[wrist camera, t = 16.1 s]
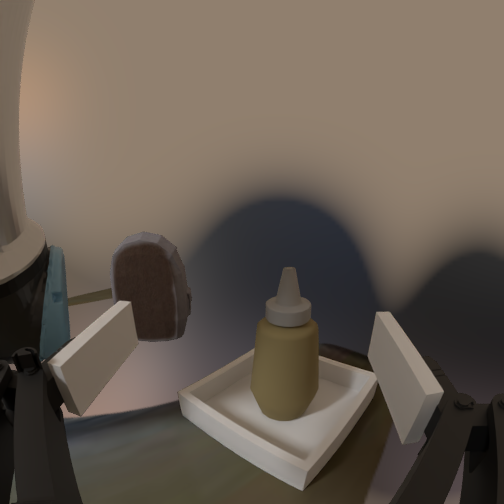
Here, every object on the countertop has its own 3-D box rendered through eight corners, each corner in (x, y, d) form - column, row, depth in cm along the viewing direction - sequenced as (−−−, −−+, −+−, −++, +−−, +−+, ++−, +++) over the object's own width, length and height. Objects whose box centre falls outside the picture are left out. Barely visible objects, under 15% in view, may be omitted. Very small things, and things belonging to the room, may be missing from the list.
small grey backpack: (115, 343, 48) (97, 237, 43) (127, 324, 56) (114, 229, 52) (193, 345, 49) (183, 233, 45) (197, 324, 57) (190, 225, 53)
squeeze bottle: (259, 383, 37) (259, 256, 33) (318, 390, 35) (331, 260, 31) (242, 422, 30) (236, 278, 26) (311, 432, 28) (329, 284, 24)
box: (182, 414, 32) (177, 392, 31) (270, 359, 45) (270, 338, 44) (302, 491, 20) (307, 471, 19) (373, 396, 34) (379, 374, 33)
